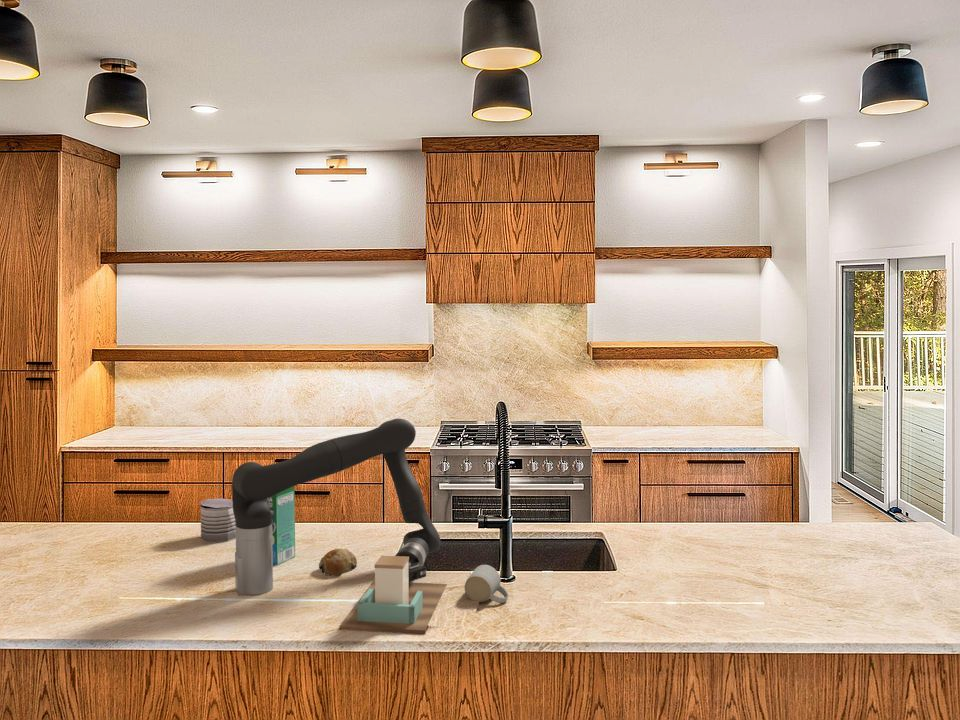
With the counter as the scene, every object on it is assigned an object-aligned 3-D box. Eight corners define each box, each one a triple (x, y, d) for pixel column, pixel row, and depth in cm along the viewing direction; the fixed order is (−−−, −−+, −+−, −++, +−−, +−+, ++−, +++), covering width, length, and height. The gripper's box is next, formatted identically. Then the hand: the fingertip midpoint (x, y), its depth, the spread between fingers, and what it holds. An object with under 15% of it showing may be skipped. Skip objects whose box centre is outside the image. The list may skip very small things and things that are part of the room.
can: (211, 532, 253) (210, 496, 252) (244, 533, 252) (243, 497, 251) (193, 542, 242) (193, 505, 241) (227, 544, 240) (227, 506, 240)
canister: (381, 606, 187) (381, 555, 186) (409, 608, 186) (408, 556, 185) (374, 617, 180) (374, 564, 179) (403, 619, 179) (402, 565, 179)
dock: (369, 604, 188) (369, 588, 188) (422, 607, 187) (422, 591, 187) (357, 620, 178) (357, 604, 178) (413, 623, 177) (413, 606, 176)
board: (373, 583, 205) (373, 580, 205) (446, 587, 203) (446, 584, 203) (339, 629, 176) (339, 625, 175) (425, 633, 173) (425, 630, 173)
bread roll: (342, 590, 211) (353, 565, 209) (310, 572, 212) (321, 547, 211) (355, 578, 220) (366, 554, 219) (324, 561, 222) (335, 537, 221)
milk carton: (251, 562, 223) (249, 477, 221) (270, 553, 231) (269, 471, 230) (276, 566, 219) (275, 480, 218) (295, 556, 228) (294, 473, 226)
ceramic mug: (462, 602, 192) (463, 572, 192) (472, 591, 200) (473, 562, 199) (503, 608, 189) (503, 577, 188) (511, 596, 197) (512, 567, 196)
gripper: (385, 545, 204) (367, 566, 187) (433, 547, 202) (421, 568, 185) (385, 572, 204) (368, 596, 187) (434, 574, 203) (421, 599, 185)
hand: (394, 582), depth 186 cm, fingers closed
